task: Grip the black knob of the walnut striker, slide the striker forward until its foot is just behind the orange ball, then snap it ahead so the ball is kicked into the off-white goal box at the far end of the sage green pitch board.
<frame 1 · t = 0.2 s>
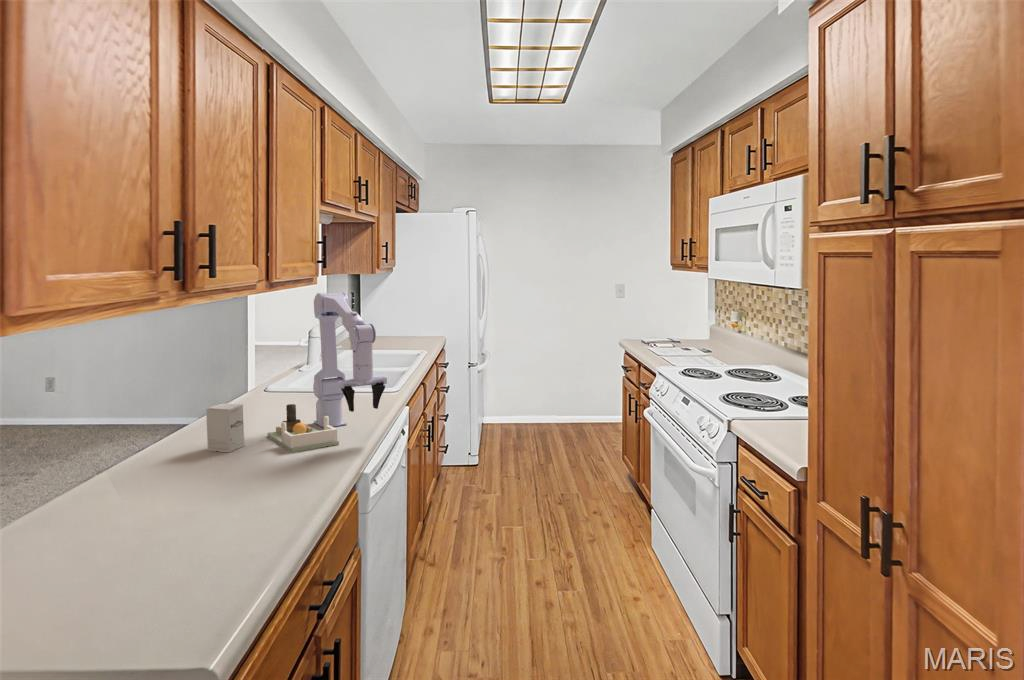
hand: (363, 409, 205), 10 cm above the countertop, tool pointing down, fingers open, 7 cm apart
ball: (299, 429, 209), point 3 cm above the countertop, touching pitch
pitch: (301, 439, 209), on the countertop
striker: (291, 417, 214), point 5 cm above the countertop, slide at 0.0 cm
supplement box: (226, 449, 198), on the countertop
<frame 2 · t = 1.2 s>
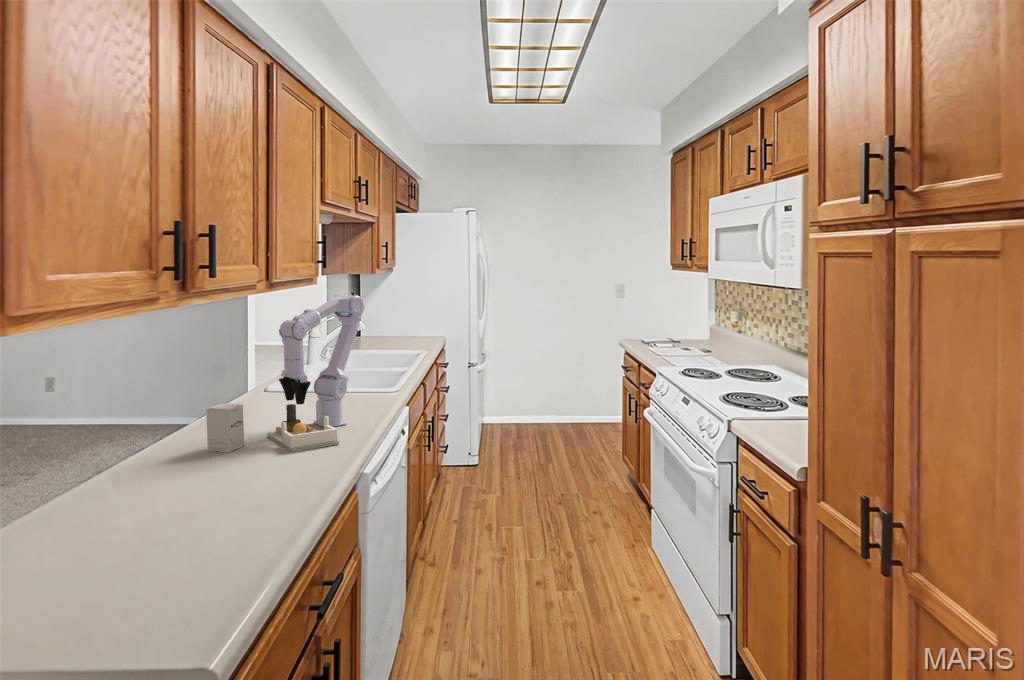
hand: (295, 402, 213), 10 cm above the countertop, tool pointing down, fingers open, 7 cm apart
nothing on the countertop moved.
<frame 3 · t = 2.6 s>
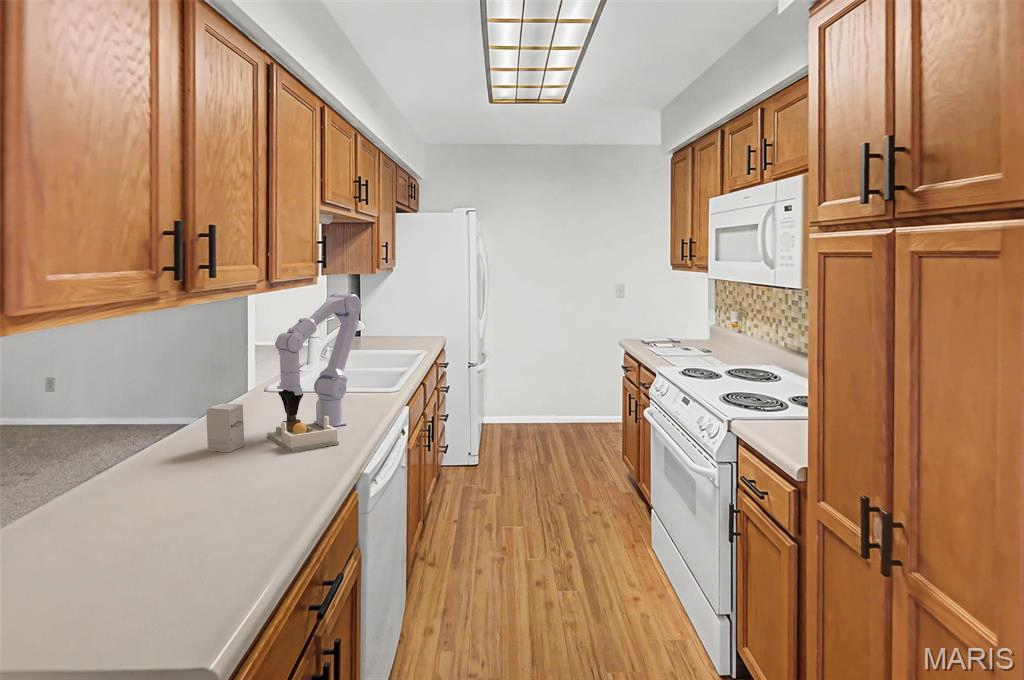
hand: (291, 414, 214), 6 cm above the countertop, tool pointing down, fingers closed on striker, 3 cm apart
striker: (291, 417, 214), point 5 cm above the countertop, slide at 0.0 cm, touching gripper
everything else where it was.
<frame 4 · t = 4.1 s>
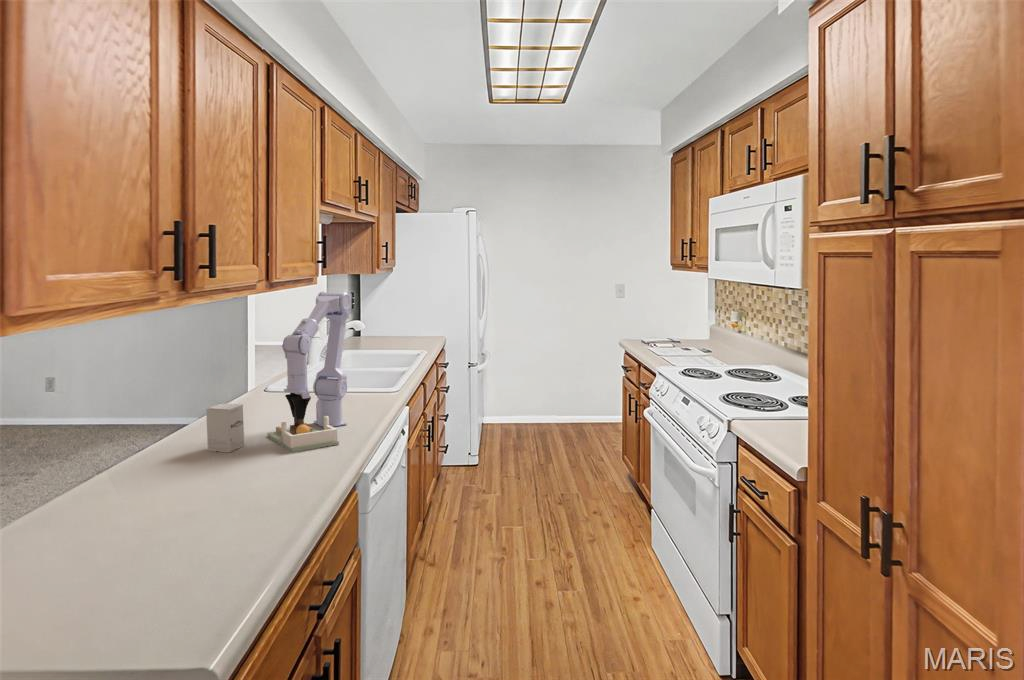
hand: (298, 418, 209), 6 cm above the countertop, tool pointing down, fingers closed on striker, 3 cm apart
ball: (302, 431, 207), point 3 cm above the countertop, tilted 67°, touching pitch
striker: (298, 421, 209), point 5 cm above the countertop, slide at 6.6 cm, touching gripper
everything else where it was.
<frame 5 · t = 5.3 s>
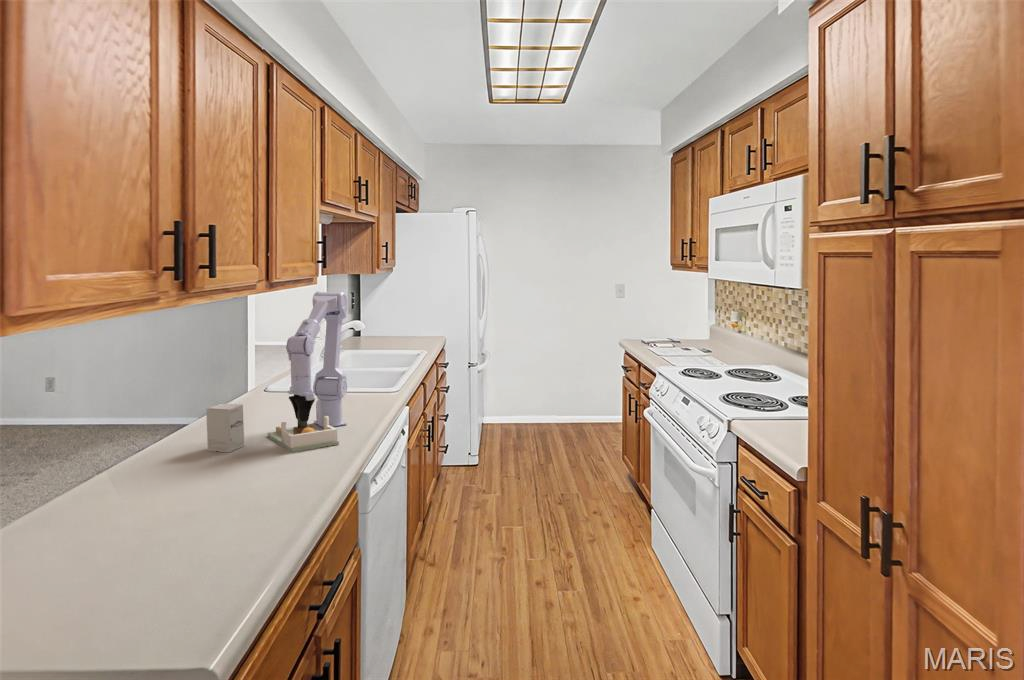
hand: (302, 419, 207), 6 cm above the countertop, tool pointing down, fingers closed on striker, 3 cm apart
ball: (308, 434, 204), point 3 cm above the countertop, tilted 160°, touching pitch
striker: (302, 423, 207), point 5 cm above the countertop, slide at 9.5 cm, touching gripper
everything else where it was.
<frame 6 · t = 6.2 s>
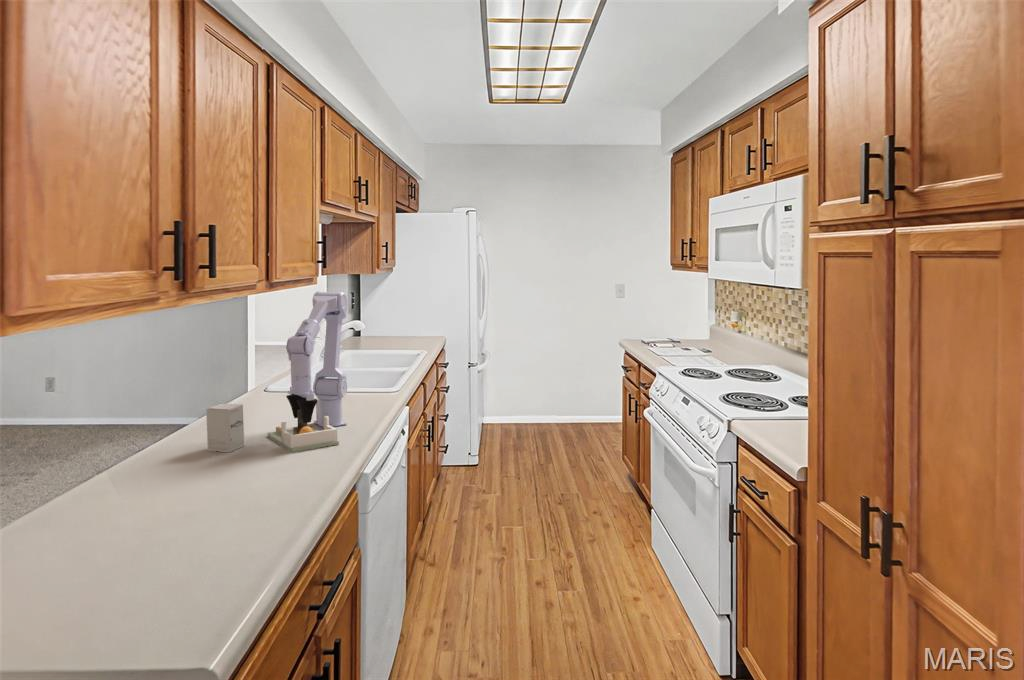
hand: (302, 420, 207), 6 cm above the countertop, tool pointing down, fingers open, 7 cm apart
ball: (306, 433, 205), point 3 cm above the countertop, tilted 155°, touching pitch
striker: (302, 423, 207), point 5 cm above the countertop, slide at 9.5 cm
everything else where it was.
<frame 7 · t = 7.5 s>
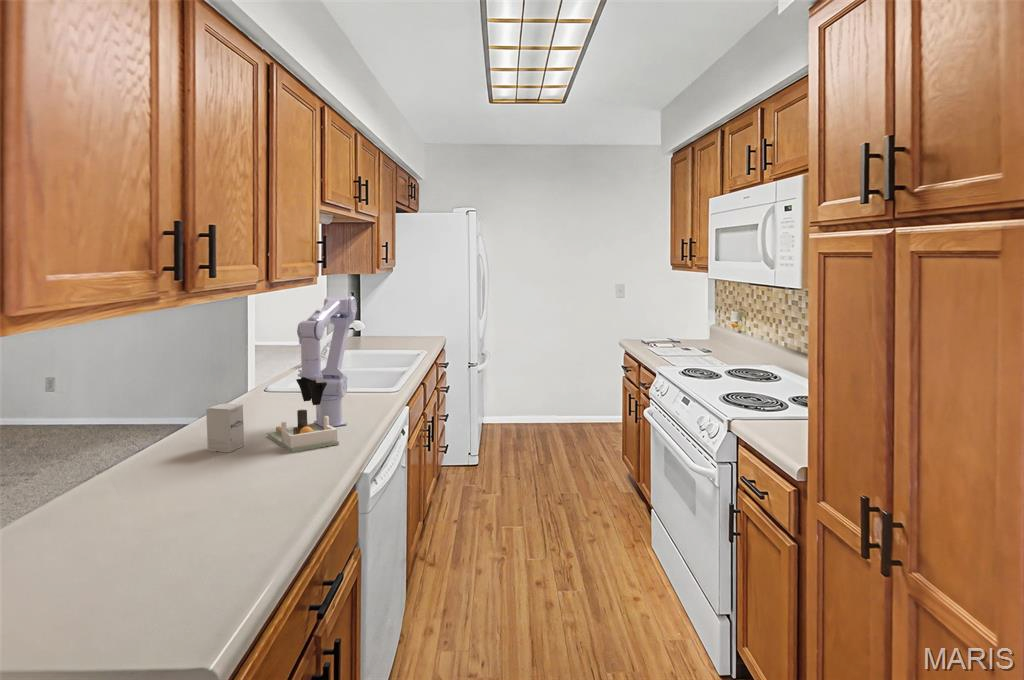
hand: (311, 402, 212), 10 cm above the countertop, tool pointing down, fingers open, 7 cm apart
nothing on the countertop moved.
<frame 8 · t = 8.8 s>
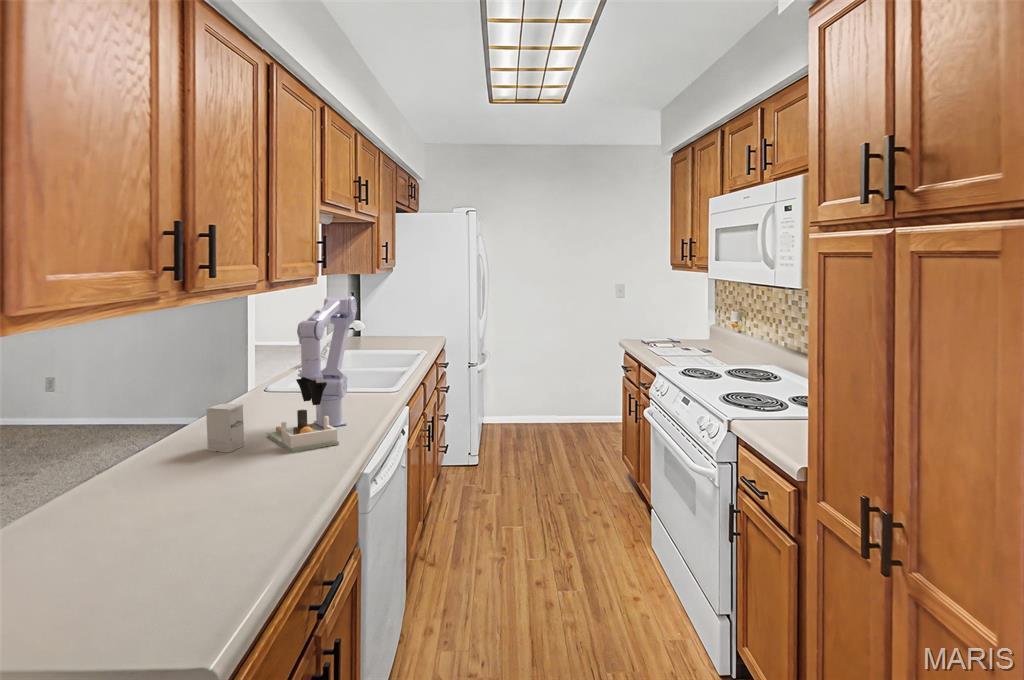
hand: (311, 402, 212), 10 cm above the countertop, tool pointing down, fingers open, 7 cm apart
nothing on the countertop moved.
at the end: ball inside the target area (2.4 cm from its centre), point 3.0 cm above the countertop; striker slide at 9.5 cm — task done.
